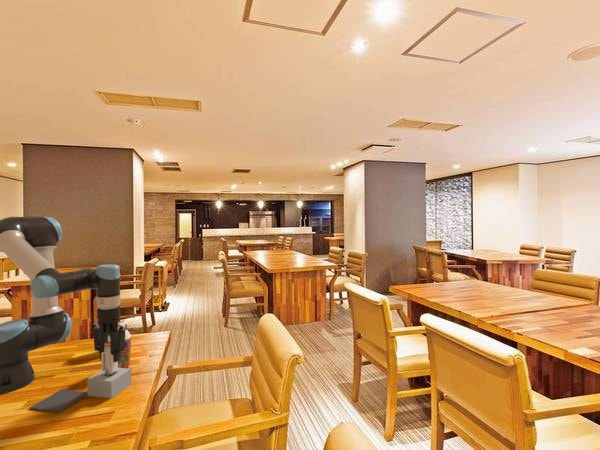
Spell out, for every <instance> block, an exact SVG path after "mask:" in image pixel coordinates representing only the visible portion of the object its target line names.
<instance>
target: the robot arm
mask: <svg viewBox="0 0 600 450" xmlns="http://www.w3.org/2000/svg"><path fill="white" fill-rule="evenodd" d="M62 237H63V230H62V226H61V224H60V223H59V221H57V219H56V218H54V217H50V216H9V217H8V216H7V217H4V218H2V219H0V253H4V255H5V256H7V257H8V258H9V259H10V261H11V262H13V264H15V266H17V268H18V269H19V270H20V271H22V272H23V273H24V275H25V276H26V277H28V279H29V283H30V284H29V285H30V291H31V292H30V293H31V301H32V302H31V304H32V312H30V314H29V315H28V319H29V320H27V319H25V318H24V319H23V318H20V319H19V318H18V319H14V320H9V321H5V322H2V323H0V395H1V394H5V393H9V392H14V391H16V390H19V389H21V388H24V387H26V386H28V385H30V384H31V383H32V382H34V380H35V379H36V378H35V376H36V375H35V373H36V372H35V371H34V369H33V367H32V364H31V362H30V361H29V352H31V351H35V350H37V349H40V348H44V347H47V346H50V345H55V344H57V343H58V342H62V341H64V340H66V339H67V338H68V337H69V335H70V334H71V331H72V328H73V327H72V326H73V325H72V318H71V316H70V314H68V313H67V312H64V308H62V307H60V305H59V298H58V296H62V295H66V294H70V293H76V292H80V291H82V292H83V291H85V290H96V307H97V309H96V318H97V322H95V323H93V324H92V323H91V326H90V327H91V329H92V334H93V347H94V351H95V352H99V361H100V362H101V371H104V370H105V365H104V342H106V341H108V334H109V336H110V340H111V346H112V353H111V354H110V355H111V372H113V371H115V370H117V369H118V361H119V352H121V351H123V350H124V346H125V330H127V328H128V325H127V324H126V323H125V324H124V323H122V322H121V320H120V316H121V306H120V305H121V273H120V271H121V270H120V265H118V264H109V263H108V264H101V265H97V266H96V268H91V267H85V268H79V269H78V270H73V271H67V272H66V271H65V272H60V270H58V269H56V268H55V258H54V250H55V249H56V248H57V247H58V243H60V242H61V240H62ZM120 322H121V323H122V324H121V323H120Z"/></svg>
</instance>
